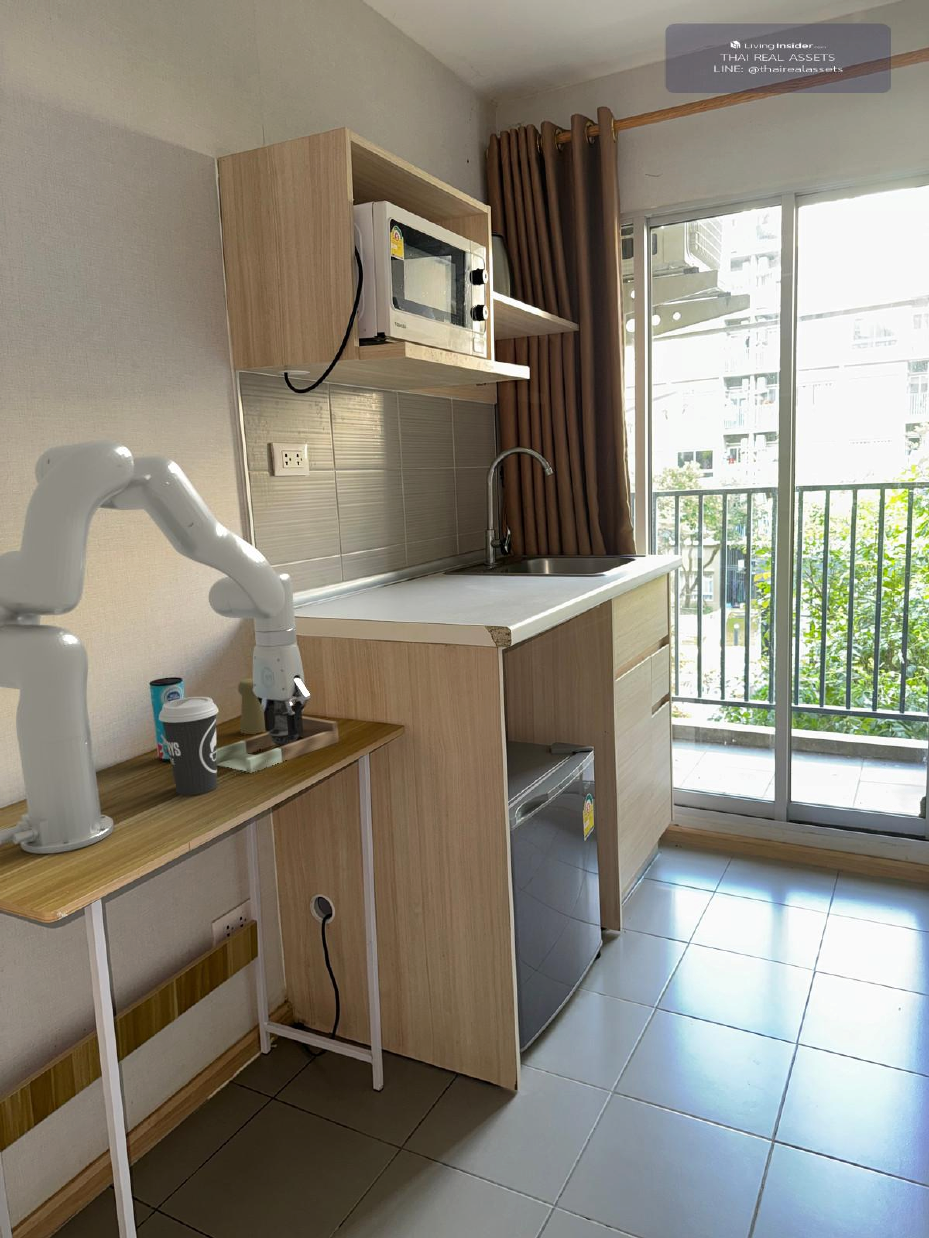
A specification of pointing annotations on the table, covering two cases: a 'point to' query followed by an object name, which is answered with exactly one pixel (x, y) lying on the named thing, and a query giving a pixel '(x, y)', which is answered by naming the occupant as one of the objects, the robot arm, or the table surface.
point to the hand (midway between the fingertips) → (284, 730)
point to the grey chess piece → (281, 726)
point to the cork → (250, 709)
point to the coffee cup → (191, 743)
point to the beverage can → (160, 695)
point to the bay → (315, 736)
